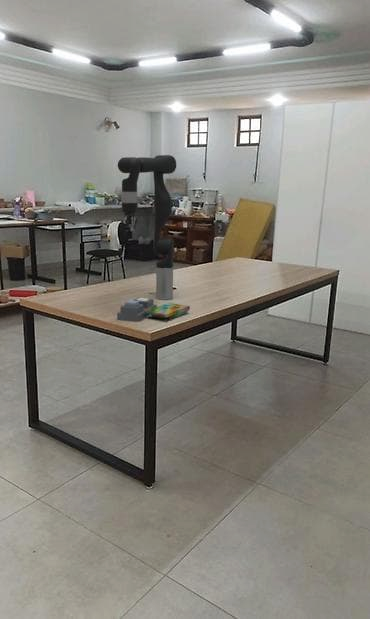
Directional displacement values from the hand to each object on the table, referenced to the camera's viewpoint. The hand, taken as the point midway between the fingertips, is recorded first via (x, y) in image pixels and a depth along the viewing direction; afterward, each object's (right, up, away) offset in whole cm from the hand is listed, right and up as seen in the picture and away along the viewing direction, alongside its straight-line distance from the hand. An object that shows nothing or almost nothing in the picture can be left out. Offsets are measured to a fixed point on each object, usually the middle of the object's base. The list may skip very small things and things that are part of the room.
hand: (130, 238), depth 226 cm
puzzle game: (+18, -37, -1) cm, 41 cm away
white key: (+6, -32, +4) cm, 33 cm away
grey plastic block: (+4, -36, -1) cm, 37 cm away
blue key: (+2, -33, -8) cm, 34 cm away
